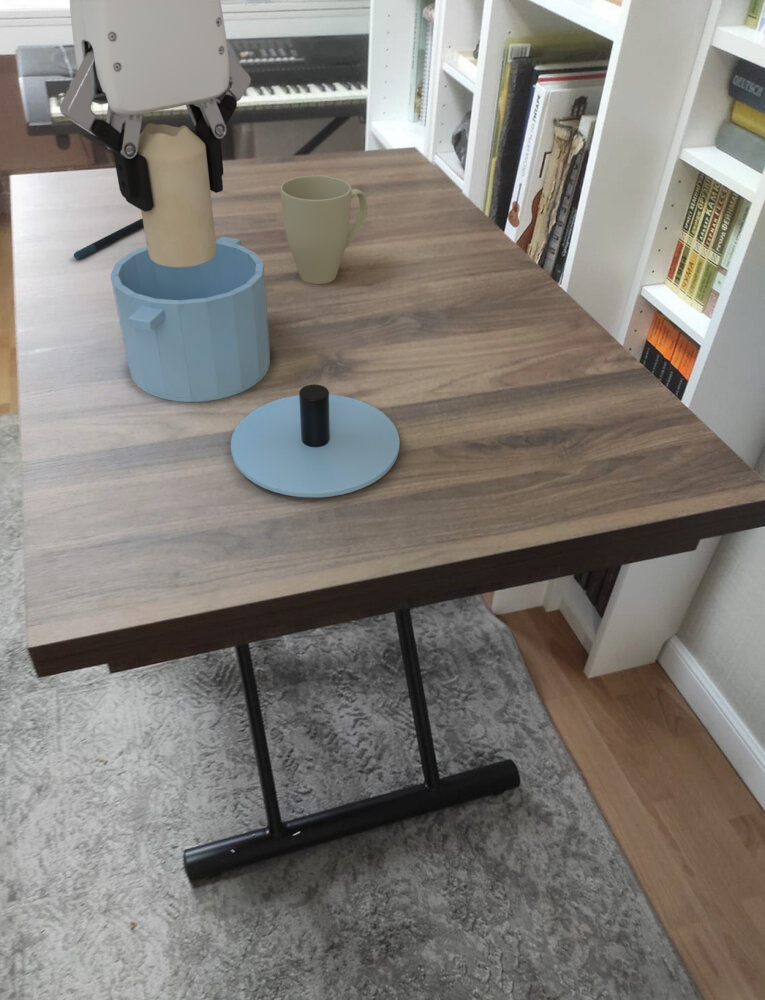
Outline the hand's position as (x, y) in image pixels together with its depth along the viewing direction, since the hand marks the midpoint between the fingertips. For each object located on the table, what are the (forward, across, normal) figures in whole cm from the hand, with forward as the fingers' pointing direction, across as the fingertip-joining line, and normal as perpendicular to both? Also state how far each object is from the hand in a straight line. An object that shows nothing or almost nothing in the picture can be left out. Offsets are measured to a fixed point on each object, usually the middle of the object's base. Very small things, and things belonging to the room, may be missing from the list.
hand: (174, 194), depth 65 cm
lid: (+25, -8, +6) cm, 27 cm away
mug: (+26, -34, -25) cm, 50 cm away
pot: (+25, -9, -15) cm, 31 cm away
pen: (+26, -18, -52) cm, 61 cm away
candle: (+5, 0, 0) cm, 5 cm away
